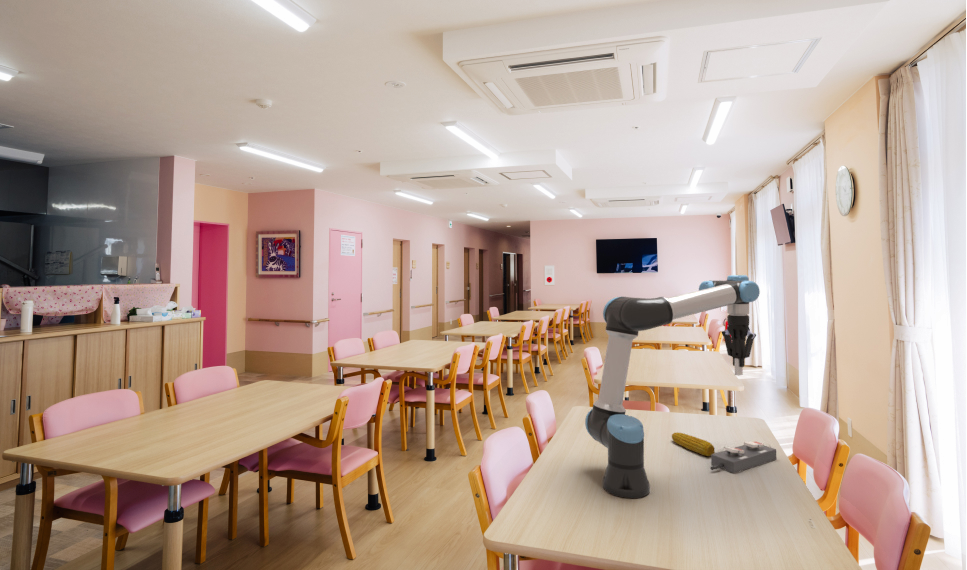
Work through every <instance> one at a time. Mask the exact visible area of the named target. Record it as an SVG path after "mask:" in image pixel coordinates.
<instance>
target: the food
mask: <svg viewBox="0 0 967 570" xmlns="http://www.w3.org/2000/svg"><path fill="white" fill-rule="evenodd" d="M671 439H672V441H673V442H674V443H676V445H679V446H681V447H682V448H685V449H686V450H689V451H692V452H695V453H698V454H700V455H703V456H705V457H711V454H714V453H716V451H715V446H714V445H713V444H712V443H711V442H709V441H707V440H705V439H701V438H699V437H696V436H693V435H691V434H690V435H689V434H686V433H684V432H683V433H682V432H678V431H677V432H672V434H671Z"/></svg>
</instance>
